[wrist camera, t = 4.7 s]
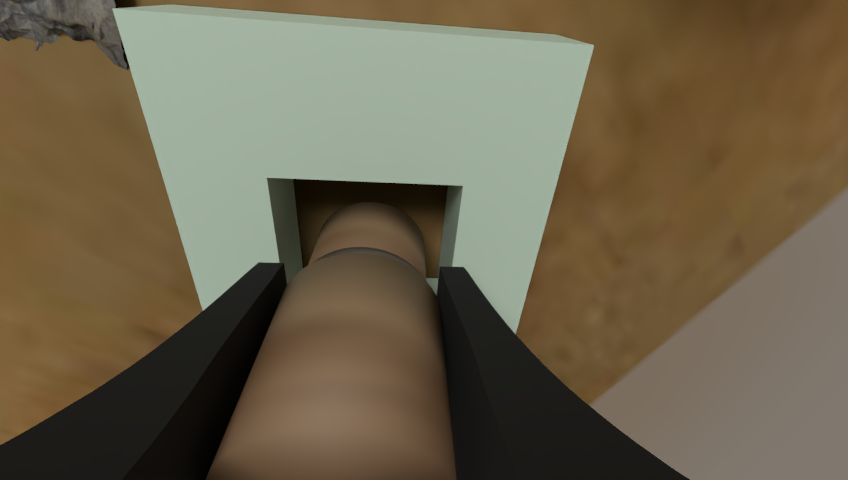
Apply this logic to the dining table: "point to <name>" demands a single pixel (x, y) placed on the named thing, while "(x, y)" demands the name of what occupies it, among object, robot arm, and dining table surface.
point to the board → (352, 131)
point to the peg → (349, 365)
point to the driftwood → (63, 23)
